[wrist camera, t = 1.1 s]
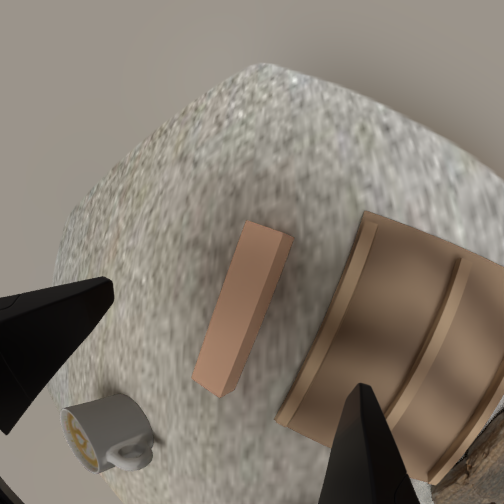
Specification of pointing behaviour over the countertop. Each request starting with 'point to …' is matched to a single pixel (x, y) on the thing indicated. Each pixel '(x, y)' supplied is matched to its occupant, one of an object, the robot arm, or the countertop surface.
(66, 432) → the coffee mug
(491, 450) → the brown rock
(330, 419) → the rack
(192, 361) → the countertop surface
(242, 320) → the clay strip
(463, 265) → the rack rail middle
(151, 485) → the countertop surface
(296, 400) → the rack rail
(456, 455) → the rack rail
